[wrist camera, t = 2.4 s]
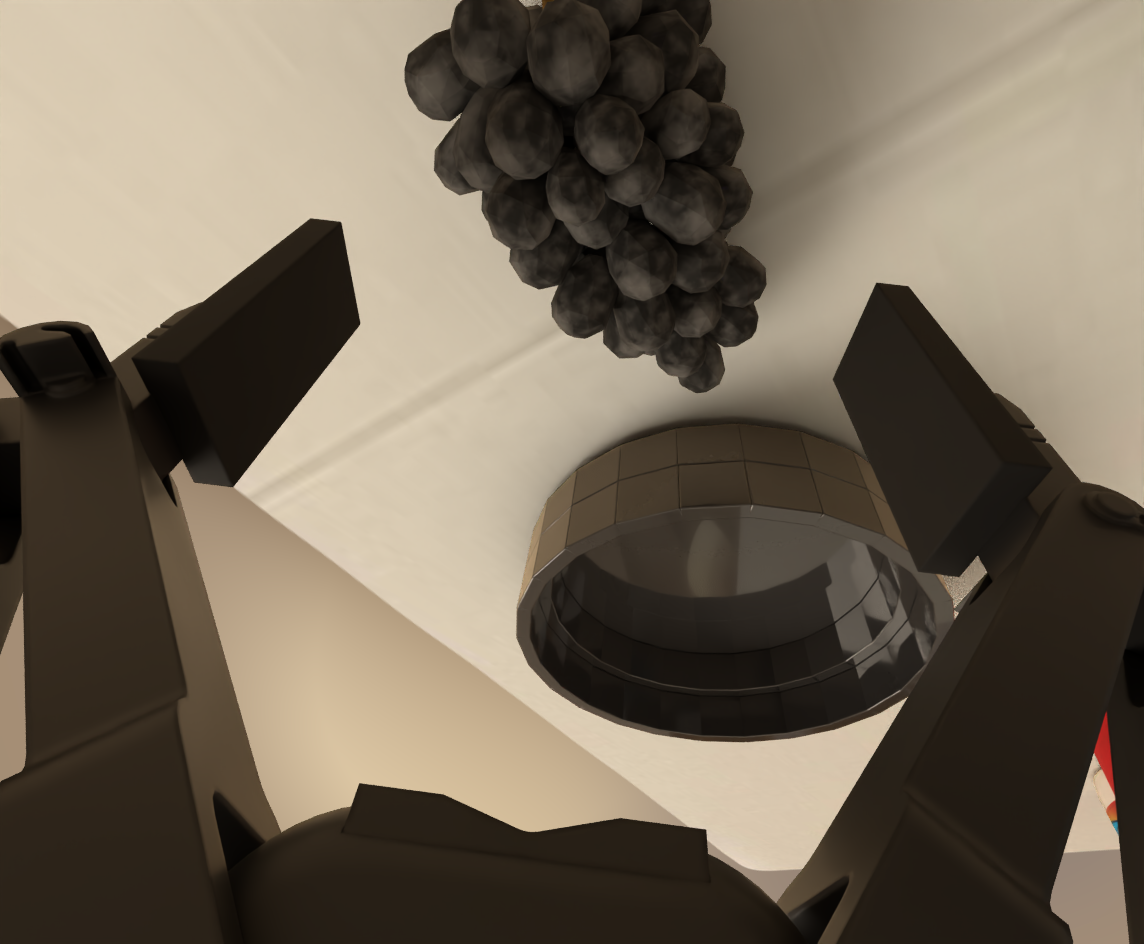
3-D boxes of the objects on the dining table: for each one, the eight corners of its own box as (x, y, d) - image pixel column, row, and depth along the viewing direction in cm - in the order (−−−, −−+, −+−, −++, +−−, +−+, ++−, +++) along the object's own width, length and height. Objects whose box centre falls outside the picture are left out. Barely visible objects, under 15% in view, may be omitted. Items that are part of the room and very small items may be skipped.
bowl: (997, 447, 27) (1065, 545, 22) (825, 675, 41) (845, 762, 37) (541, 390, 27) (518, 473, 23) (529, 634, 42) (514, 714, 38)
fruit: (790, 484, 18) (568, -150, 9) (574, 490, 23) (294, 82, 14) (825, 320, 23) (703, -193, 14) (641, 354, 28) (465, -11, 19)
